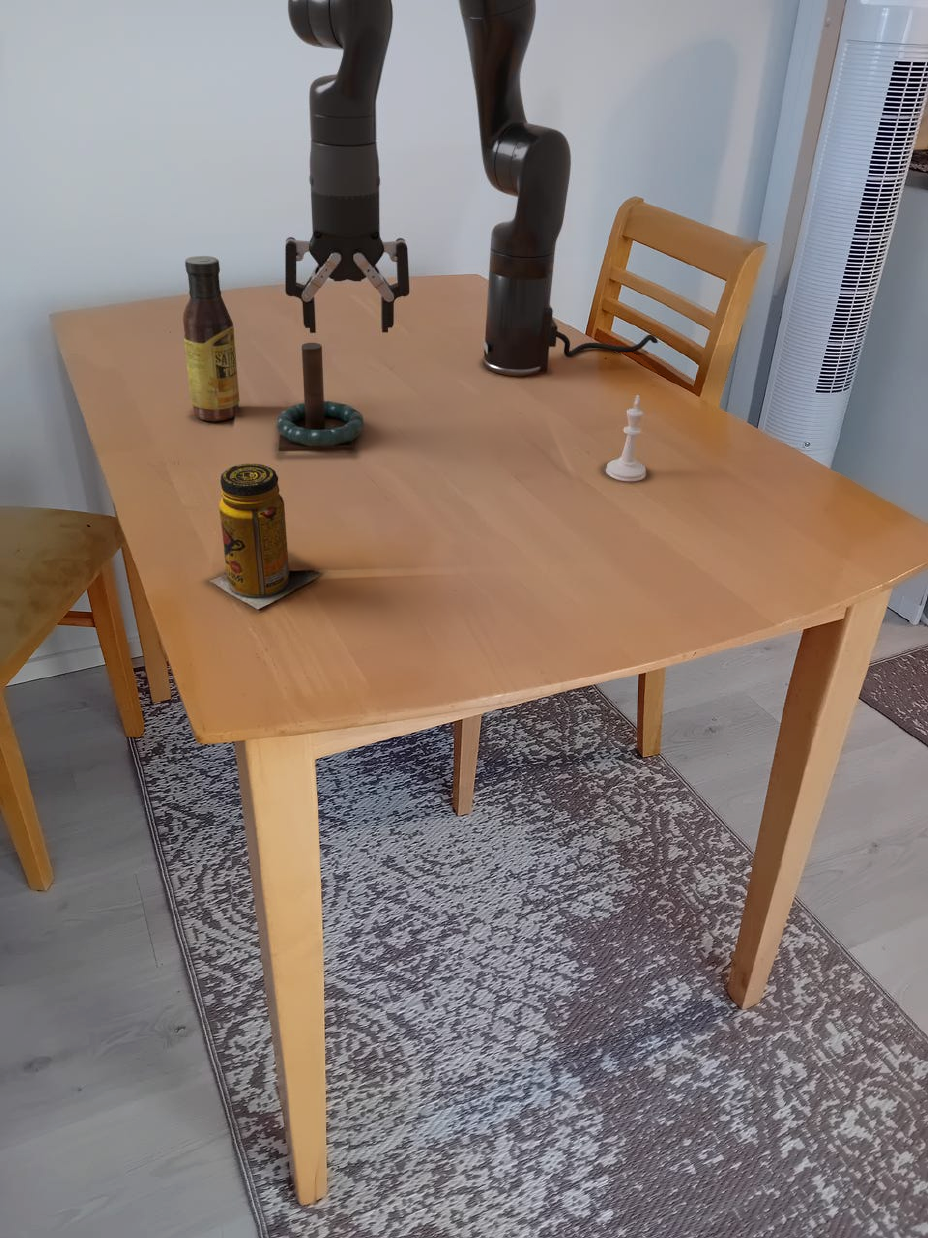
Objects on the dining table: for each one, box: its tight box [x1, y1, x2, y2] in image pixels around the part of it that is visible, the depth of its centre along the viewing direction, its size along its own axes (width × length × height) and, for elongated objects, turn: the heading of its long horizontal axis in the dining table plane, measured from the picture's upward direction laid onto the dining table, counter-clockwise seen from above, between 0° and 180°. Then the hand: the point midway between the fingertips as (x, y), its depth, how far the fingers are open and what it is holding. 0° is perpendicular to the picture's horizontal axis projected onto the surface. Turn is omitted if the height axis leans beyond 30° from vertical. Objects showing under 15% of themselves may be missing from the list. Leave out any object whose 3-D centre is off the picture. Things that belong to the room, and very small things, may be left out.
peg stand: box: [278, 342, 354, 452], centre depth 121 cm, size 9×9×12 cm
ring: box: [276, 400, 365, 447], centre depth 123 cm, size 11×11×2 cm
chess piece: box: [605, 394, 647, 482], centre depth 118 cm, size 5×5×10 cm
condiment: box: [209, 463, 323, 610], centre depth 94 cm, size 7×8×12 cm
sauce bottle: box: [182, 255, 240, 422], centre depth 124 cm, size 7×6×20 cm
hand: (348, 330), depth 116 cm, fingers open, 8 cm apart
